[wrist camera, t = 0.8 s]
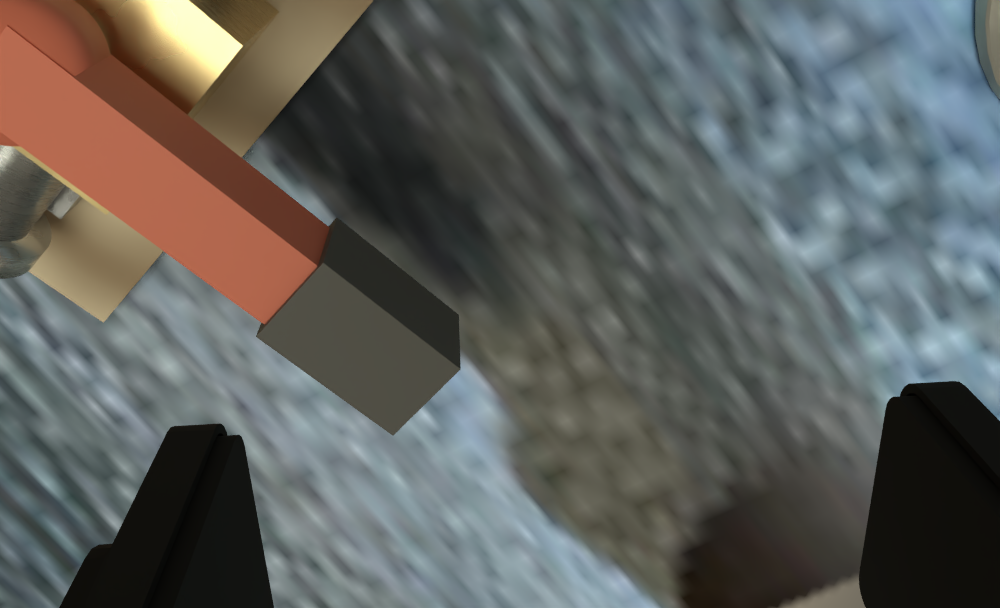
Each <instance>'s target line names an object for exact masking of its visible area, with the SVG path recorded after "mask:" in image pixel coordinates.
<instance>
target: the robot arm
mask: <svg viewBox="0 0 1000 608" xmlns="http://www.w3.org/2000/svg"><path fill="white" fill-rule="evenodd" d="M975 37H976V42H977V48H978V53H979V59H980V63H981V66H982V68H983V71H984V73H985V75H986V78H987V80H988V82H989V85H990V87H991V89H992V90H993V92H994V93H995V94H996V96H997V97H998V99H999V100H1000V0H976V2H975ZM859 585H860V592H861V596H862V599H863V602H864V605H865V607H866V608H1000V421H999V420H998V419H997V418H996V417H995V416H994V415H993V414H992V413H991V412H990V411H989V410H988V409H987V408H986V407H985V406H984V405H983V404H982V403H981V402H980V401H979V400H978V399H977V398H976V396H975V395H974V394H973V393H972V392H971V391H970V390H969V389H968V388H967V387H966V386H965V385H963V384H962V383H960V382H956V381H949V382H931V383H914V384H908V385H906V386H905V387H904V388H903V390H902V392H901V394H900V397H892V398H891V399H890V400H889V402H888V403H887V407H886V411H885V417H884V423H883V430H882V436H881V442H880V448H879V454H878V461H877V467H876V473H875V479H874V485H873V492H872V498H871V504H870V510H869V516H868V523H867V529H866V535H865V541H864V548H863V554H862V560H861V566H860V573H859ZM59 608H274V605H273V600H272V594H271V589H270V583H269V578H268V572H267V567H266V561H265V556H264V550H263V545H262V539H261V534H260V528H259V523H258V517H257V512H256V506H255V501H254V495H253V490H252V484H251V479H250V473H249V468H248V462H247V457H246V451H245V446H244V442H243V439H242V437H241V436H240V435H230V436H227V432H226V430H225V428H224V426H223V425H222V424H205V425H188V426H174V427H171V428H170V429H169V431H168V432H167V434H166V436H165V438H164V440H163V442H162V444H161V446H160V448H159V450H158V452H157V454H156V456H155V458H154V460H153V462H152V464H151V466H150V468H149V471H148V473H147V475H146V477H145V479H144V481H143V483H142V485H141V487H140V489H139V491H138V493H137V495H136V497H135V499H134V501H133V503H132V505H131V507H130V509H129V511H128V513H127V515H126V517H125V519H124V522H123V524H122V526H121V528H120V530H119V532H118V534H117V536H116V538H115V540H114V542H113V544H103V545H98V546H96V547H94V548H92V549H91V551H90V552H89V553H88V555H87V556H86V558H85V559H84V561H83V563H82V565H81V567H80V569H79V571H78V573H77V575H76V577H75V579H74V581H73V582H72V584H71V586H70V588H69V590H68V592H67V594H66V596H65V598H64V600H63V602H62V604H61V606H60V607H59Z"/></svg>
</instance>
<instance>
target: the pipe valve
mask: <svg viewBox="0 0 1000 608" xmlns="http://www.w3.org/2000/svg"><path fill="white" fill-rule="evenodd" d="M74 1H76V2H77V3H78V4H80V5H81V6H82V7H83V8H84V9H85V10H87V11H88V12H89V14H90V15H91V16H92V17H93V18H94V19H95V21H96V22H97V24H98V25H99V26H100V28H101V30H102V32H103V34H104V36H105V38H106V41H107V43H108V47H109V50H110V54H111V55H113V56H114V57H115V58H116V59H118V60H119V61H120V62H121V63H123V64H124V65H125V66H126V67H128V68H129V69H130V70H131V71H133V72H134V73H135V74H136V75H138V76H139V77H140V78H142V79H143V80H144V81H145V82H147V83H148V84H149V85H150V86H152V87H153V88H154V89H155V90H157V91H158V92H159V93H160V94H162V95H163V96H164V97H165V98H167V99H168V100H169V101H171V102H172V103H173V104H174V105H176V106H177V107H178V108H179V109H181V110H182V111H183V112H184V113H186V114H187V115H188V116H189V117H191V118H192V119H194V117H195V116H196V115H197V114H198V112H199V111H200V110H201V109H202V107H203V106H204V105H205V104H206V102H207V101H208V100H209V99H210V97H211V96H212V95H213V94H214V92H215V91H216V90H217V89H218V88H219V86H220V85H221V84H222V83H223V81H224V80H225V79H226V78H227V76H228V75H229V74H230V73H231V71H232V70H233V69H234V68H235V66H236V65H237V64H238V63H239V61H240V60H241V59H242V58H243V57H244V55H245V54H246V53H247V52H248V50H249V49H250V48H251V47H252V45H253V44H254V43H255V42H256V40H257V39H258V38H259V37H260V35H261V34H262V33H263V32H264V30H265V29H266V28H267V27H268V26H269V24H270V23H271V22H272V21H273V19H274V18H275V17H276V16H277V14H278V13H279V11H278V10H277V9H276V8H275V7H273V6H272V5H271V4H270V3H269V2H268V1H267V0H74ZM82 198H84V199H85V200H86V201H88V202H89V203H91V204H92V205H93V206H95V207H96V208H97V209H99V210H100V211H102V212H103V213H104V214H106V215H108V213H109V211H108V210H107V209H105V208H104V207H103V206H101V205H100V204H98V203H97V202H96V201H94V200H93V199H92V198H90V197H89V196H87V195H86V194H85V193H83V192H82V191H81V190H79V189H78V188H77V187H75V186H74V185H72V184H71V183H70V182H68V181H67V180H66V179H64V178H63V177H61V176H60V175H59V174H57V173H56V172H55V171H53V170H52V169H50V168H49V167H48V166H46V165H45V164H44V163H42V162H41V161H40V160H38V159H37V158H35V157H34V156H33V155H31V154H30V153H29V152H27V151H26V150H24V149H23V148H22V147H20V146H4V145H0V279H6V278H14V277H17V276H21V275H23V274H25V273H26V272H28V271H29V270H30V269H31V268H32V267H33V266H34V264H35V263H36V262H37V261H38V259H39V258H40V257H41V255H42V254H43V253H44V252H45V250H46V249H47V248H48V247H49V245H50V242H51V237H52V234H51V227H50V224H49V221H48V219H47V217H46V215H45V214H44V212H45V211H46V210H48V211H50V212H51V213H53V214H54V215H55V216H57V217H58V218H60V219H62V218H63V217H64V216H65V215H66V214H67V213H68V212H69V211H70V210H72V209H73V208H74V207H75V206H76V205H77V204H78V203H79V202H80V201H81V200H82Z"/></svg>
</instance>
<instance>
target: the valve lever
mask: <svg viewBox="0 0 1000 608" xmlns="http://www.w3.org/2000/svg"><path fill="white" fill-rule="evenodd" d="M0 145H4V146H20V147H22V148H23V149H24V150H26V151H27V152H29V153H30V154H31V155H33V156H34V157H35V158H37V159H38V160H40V161H41V162H42V163H44V164H45V165H46V166H48V167H49V168H50V169H52V170H53V171H55V172H56V173H57V174H59V175H60V176H61V177H63V178H64V179H66V180H67V181H68V182H70V183H71V184H72V185H74V186H75V187H77V188H78V189H79V190H81V191H82V192H83V193H85V194H86V195H87V196H89V197H90V198H92V199H93V200H94V201H96V202H97V203H98V204H100V205H101V206H103V207H104V208H105V209H107V210H108V211H109V212H111V213H112V214H113V215H115V216H116V217H118V218H119V219H120V220H122V221H123V222H124V223H126V224H127V225H129V226H130V227H131V228H133V229H134V230H135V231H137V232H138V233H140V234H141V235H142V236H144V237H145V238H146V239H148V240H149V241H150V242H152V243H153V244H155V245H156V246H157V247H159V248H160V249H161V250H163V251H164V252H166V253H167V254H168V255H170V256H171V257H172V258H174V259H175V260H176V261H178V262H179V263H181V264H182V265H183V266H185V267H186V268H187V269H189V270H190V271H192V272H193V273H194V274H196V275H197V276H198V277H200V278H201V279H202V280H204V281H205V282H207V283H208V284H209V285H211V286H212V287H213V288H215V289H216V290H218V291H219V292H220V293H222V294H223V295H224V296H226V297H227V298H229V299H230V300H231V301H233V302H234V303H235V304H237V305H238V306H239V307H241V308H242V309H244V310H245V311H246V312H248V313H249V314H250V315H252V316H253V317H255V318H256V319H257V320H259V321H260V322H261V325H260V328H259V330H258V333H257V336H256V337H257V338H259V339H260V340H261V341H263V342H264V343H265V344H267V345H268V346H270V347H271V348H272V349H274V350H275V351H277V352H278V353H279V354H281V355H282V356H283V357H285V358H286V359H288V360H289V361H290V362H292V363H293V364H295V365H296V366H297V367H299V368H300V369H301V370H303V371H304V372H306V373H307V374H308V375H310V376H311V377H313V378H314V379H315V380H317V381H318V382H319V383H321V384H322V385H324V386H325V387H326V388H328V389H329V390H331V391H332V392H333V393H335V394H336V395H337V396H339V397H340V398H342V399H343V400H344V401H346V402H347V403H349V404H350V405H351V406H353V407H354V408H355V409H357V410H358V411H360V412H361V413H362V414H364V415H365V416H367V417H368V418H369V419H371V420H372V421H373V422H375V423H376V424H378V425H379V426H380V427H382V428H383V429H385V430H386V431H387V432H389V433H390V434H391V435H394V434H395V433H396V432H397V431H398V430H399V429H400V428H401V427H402V426H403V425H404V424H405V423H406V422H407V421H408V420H409V419H410V418H411V417H412V416H413V415H414V414H415V413H416V412H417V411H419V410H420V409H421V408H422V407H423V406H424V405H425V404H426V403H427V402H428V401H429V400H430V399H431V398H432V397H433V396H434V395H435V394H436V393H437V392H438V391H439V390H440V389H441V388H442V387H443V386H444V385H445V384H446V383H447V382H448V381H449V380H450V379H451V378H452V377H453V376H454V375H455V374H456V373H457V372H458V371H459V370H460V340H459V315H458V314H457V313H456V312H454V311H453V310H452V309H451V308H449V307H448V306H447V305H446V304H444V303H443V302H442V301H441V300H439V299H438V298H437V297H436V296H434V295H433V294H432V293H431V292H429V291H428V290H427V289H426V288H424V287H423V286H422V285H421V284H419V283H418V282H417V281H416V280H414V279H413V278H412V277H411V276H409V275H408V274H407V273H406V272H404V271H403V270H402V269H401V268H399V267H398V266H397V265H396V264H394V263H393V262H392V261H391V260H389V259H388V258H387V257H386V256H384V255H383V254H382V253H381V252H379V251H378V250H377V249H376V248H374V247H373V246H372V245H371V244H369V243H368V242H367V241H366V240H364V239H363V238H362V237H361V236H359V235H358V234H357V233H356V232H354V231H353V230H352V229H351V228H349V227H348V226H347V225H346V224H344V223H343V222H342V221H341V220H339V219H338V218H336V219H335V220H334V221H333V222H332V223H331V225H330V226H329V227H328V226H327V225H326V224H324V223H323V222H322V221H320V220H319V219H318V218H317V217H315V216H314V215H313V214H312V213H310V212H309V211H308V210H307V209H305V208H304V207H303V206H302V205H300V204H299V203H298V202H297V201H295V200H294V199H293V198H291V197H290V196H289V195H288V194H286V193H285V192H284V191H283V190H281V189H280V188H279V187H278V186H276V185H275V184H274V183H273V182H271V181H270V180H269V179H268V178H266V177H265V176H264V175H263V174H261V173H260V172H259V171H257V170H256V169H255V168H254V167H252V166H251V165H250V164H249V163H247V162H246V161H245V160H244V159H242V158H241V157H240V156H239V155H237V154H236V153H235V152H234V151H232V150H231V149H230V148H228V147H227V146H226V145H225V144H223V143H222V142H221V141H220V140H218V139H217V138H216V137H215V136H213V135H212V134H211V133H210V132H208V131H207V130H206V129H205V128H203V127H202V126H201V125H199V124H198V123H197V122H196V121H194V120H193V119H192V118H191V117H189V116H188V115H187V114H186V113H184V112H183V111H182V110H181V109H179V108H178V107H177V106H176V105H174V104H173V103H172V102H171V101H169V100H168V99H167V98H165V97H164V96H163V95H162V94H160V93H159V92H158V91H157V90H155V89H154V88H153V87H152V86H150V85H149V84H148V83H147V82H145V81H144V80H143V79H142V78H140V77H139V76H138V75H136V74H135V73H134V72H133V71H131V70H130V69H129V68H128V67H126V66H125V65H124V64H123V63H121V62H120V61H119V60H118V59H116V58H115V57H114V56H113V55H111V54H110V50H109V47H108V43H107V41H106V38H105V36H104V34H103V32H102V30H101V28H100V26H99V25H98V24H97V22H96V21H95V19H94V18H93V17H92V16H91V15H90V14H89V12H88V11H87V10H85V9H84V8H83V7H82V6H81V5H80V4H78V3H77V2H76V1H74V0H0Z"/></svg>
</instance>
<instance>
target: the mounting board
mask: <svg viewBox="0 0 1000 608" xmlns="http://www.w3.org/2000/svg"><path fill="white" fill-rule="evenodd" d="M267 1H268V2H269V3H270V4H271V5H272V6H273V7H275V8H276V9H277V10H278V11H279V13H278V14H277V16H276V17H275V18H274V19H273V21H272V22H271V23H270V24H269V26H268V27H267V28H266V29H265V30H264V32H263V33H262V34H261V35H260V37H259V38H258V39H257V40H256V42H255V43H254V44H253V45H252V47H251V48H250V49H249V50H248V52H247V53H246V54H245V55H244V57H243V58H242V59H241V60H240V61H239V63H238V64H237V65H236V66H235V68H234V69H233V70H232V71H231V73H230V74H229V75H228V76H227V78H226V79H225V80H224V81H223V83H222V84H221V85H220V86H219V88H218V89H217V90H216V91H215V92H214V94H213V95H212V96H211V97H210V99H209V100H208V101H207V102H206V104H205V105H204V106H203V107H202V109H201V110H200V111H199V112H198V114H197V115H196V116H195V117H194V119H193V120H194V121H196V122H197V123H198V124H199V125H201V126H202V127H203V128H205V129H206V130H207V131H208V132H210V133H211V134H212V135H213V136H215V137H216V138H217V139H218V140H220V141H221V142H222V143H223V144H225V145H226V146H227V147H228V148H230V149H231V150H232V151H234V152H235V153H236V154H237V155H239V156H240V157H241V158H242V157H243V155H244V154H245V153H246V152H247V151H248V150H249V148H250V147H251V146H252V145H253V144H254V142H255V141H256V140H257V139H258V138H259V136H260V135H261V134H262V133H263V132H264V130H265V129H266V128H267V127H268V126H269V124H270V123H271V122H272V121H273V120H274V119H275V117H276V116H277V115H278V114H279V113H280V111H281V110H282V109H283V108H284V107H285V105H286V104H287V103H288V102H289V101H290V99H291V98H292V97H293V96H294V95H295V93H296V92H297V91H298V90H299V89H300V87H301V86H302V85H303V84H304V83H305V82H306V80H307V79H308V78H309V77H310V76H311V74H312V73H313V72H314V71H315V70H316V68H317V67H318V66H319V65H320V64H321V62H322V61H323V60H324V59H325V58H326V56H327V55H328V54H329V53H330V52H331V51H332V49H333V48H334V47H335V46H336V45H337V43H338V42H339V41H340V40H341V39H342V37H343V36H344V35H345V34H346V33H347V31H348V30H349V29H350V28H351V27H352V25H353V24H354V23H355V22H356V21H357V20H358V18H359V17H360V16H361V15H362V14H363V12H364V11H365V10H366V9H367V8H368V6H369V5H370V4H371V3H372V2H373V0H267ZM44 214H45V215H46V217H47V219H48V221H49V224H50V227H51V234H52V237H51V242H50V245H49V247H48V248H47V249H46V250H45V252H44V253H43V254H42V255H41V257H40V258H39V259H38V261H37V262H36V263H35V264H34V266H33V267H32V268H31V269H30V270H29V272H30V273H32V274H33V275H35V276H36V277H38V278H39V279H41V280H42V281H43V282H45V283H46V284H48V285H49V286H51V287H52V288H54V289H55V290H57V291H58V292H60V293H61V294H62V295H64V296H65V297H67V298H68V299H70V300H71V301H73V302H74V303H76V304H77V305H79V306H80V307H81V308H83V309H84V310H86V311H87V312H89V313H90V314H92V315H93V316H95V317H96V318H98V319H99V320H100V321H102V322H104V321H105V320H106V319H107V318H108V316H109V315H110V314H111V313H112V312H113V310H114V309H115V308H116V307H117V306H118V305H119V303H120V302H121V301H122V300H123V299H124V297H125V296H126V295H127V294H128V293H129V291H130V290H131V289H132V288H133V287H134V285H135V284H136V283H137V282H138V281H139V279H140V278H141V277H142V276H143V275H144V274H145V272H146V271H147V270H148V269H149V268H150V266H151V265H152V264H153V263H154V262H155V260H156V259H157V258H158V257H159V256H160V254H161V253H162V252H163V250H161V249H160V248H159V247H157V246H156V245H155V244H153V243H152V242H150V241H149V240H148V239H146V238H145V237H144V236H142V235H141V234H140V233H138V232H137V231H135V230H134V229H133V228H131V227H130V226H129V225H127V224H126V223H124V222H123V221H122V220H120V219H119V218H118V217H116V216H115V215H113V214H112V213H111V212H109V213H108V215H106V214H104V213H103V212H102V211H100V210H99V209H97V208H96V207H95V206H93V205H92V204H91V203H89V202H88V201H86V200H85V199H84V198H82V200H81V201H80V202H79V203H78V204H77V205H76V206H75V207H74V208H73V209H72V210H70V211H69V212H68V213H67V214H66V215H65V216H64V217H63V218H62V219H60V218H58V217H57V216H55V215H54V214H53V213H51V212H50V211H48V210H46V211H45V212H44Z"/></svg>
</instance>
